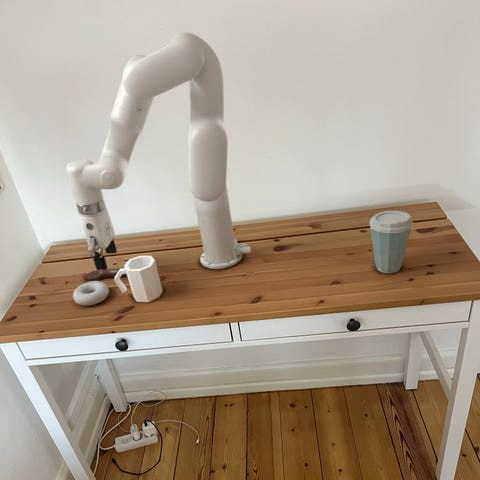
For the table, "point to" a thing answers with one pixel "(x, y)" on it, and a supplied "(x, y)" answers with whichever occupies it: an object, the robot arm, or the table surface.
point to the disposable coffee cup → (390, 239)
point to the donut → (90, 293)
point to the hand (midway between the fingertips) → (107, 260)
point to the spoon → (103, 274)
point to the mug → (141, 278)
